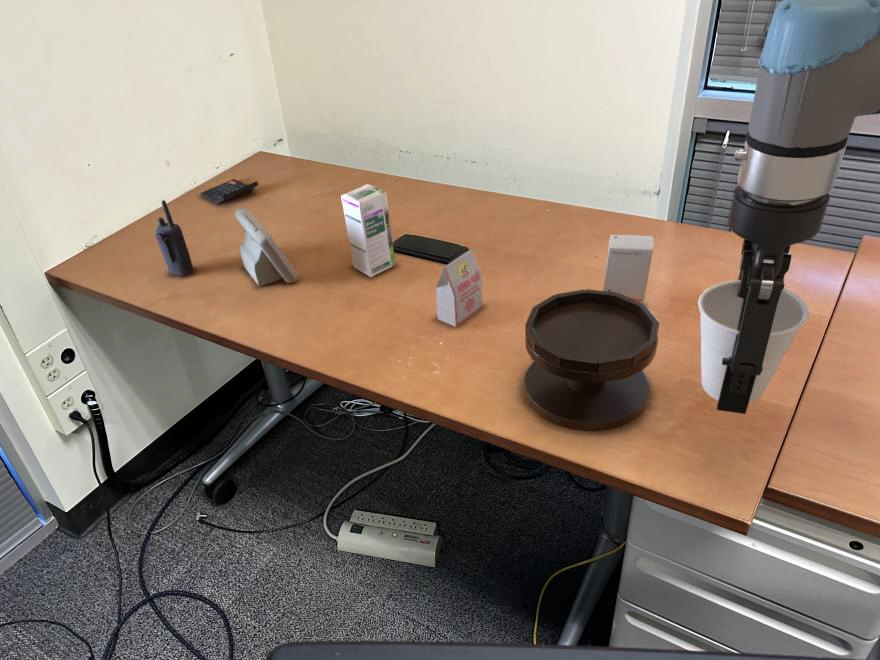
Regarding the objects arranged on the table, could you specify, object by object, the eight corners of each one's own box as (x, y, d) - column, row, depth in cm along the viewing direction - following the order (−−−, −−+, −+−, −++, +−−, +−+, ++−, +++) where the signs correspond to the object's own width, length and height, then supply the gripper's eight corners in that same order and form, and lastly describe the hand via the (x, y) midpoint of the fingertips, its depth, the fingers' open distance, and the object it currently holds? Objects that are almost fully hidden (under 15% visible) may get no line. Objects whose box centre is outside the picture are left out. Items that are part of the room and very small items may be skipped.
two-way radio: (198, 269, 133) (174, 197, 124) (185, 281, 130) (159, 208, 121) (176, 266, 136) (151, 195, 126) (162, 278, 133) (135, 206, 123)
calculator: (234, 182, 166) (231, 170, 164) (260, 193, 158) (257, 181, 156) (201, 196, 161) (197, 184, 160) (226, 208, 154) (223, 196, 152)
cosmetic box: (600, 317, 105) (607, 247, 97) (602, 302, 108) (609, 233, 100) (642, 320, 103) (653, 249, 95) (643, 304, 106) (653, 235, 98)
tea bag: (437, 319, 110) (433, 264, 104) (464, 300, 113) (462, 246, 107) (455, 326, 108) (452, 271, 101) (482, 307, 111) (481, 252, 105)
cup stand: (654, 363, 95) (666, 296, 88) (639, 442, 84) (651, 372, 77) (538, 347, 101) (541, 283, 94) (511, 418, 90) (511, 351, 83)
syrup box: (371, 278, 122) (360, 202, 113) (352, 267, 126) (340, 193, 117) (396, 266, 125) (387, 190, 116) (376, 255, 129) (366, 182, 120)
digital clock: (300, 285, 124) (289, 232, 117) (251, 297, 123) (237, 244, 116) (286, 246, 136) (274, 196, 130) (241, 257, 135) (228, 206, 128)
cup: (687, 416, 73) (705, 333, 66) (678, 359, 81) (692, 279, 74) (791, 421, 71) (821, 335, 64) (772, 362, 78) (796, 279, 71)
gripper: (738, 141, 70) (701, 324, 84) (730, 242, 55) (687, 442, 70) (825, 142, 67) (771, 332, 81) (839, 249, 52) (771, 456, 67)
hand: (732, 382), depth 75 cm, fingers closed on cup, 8 cm apart
